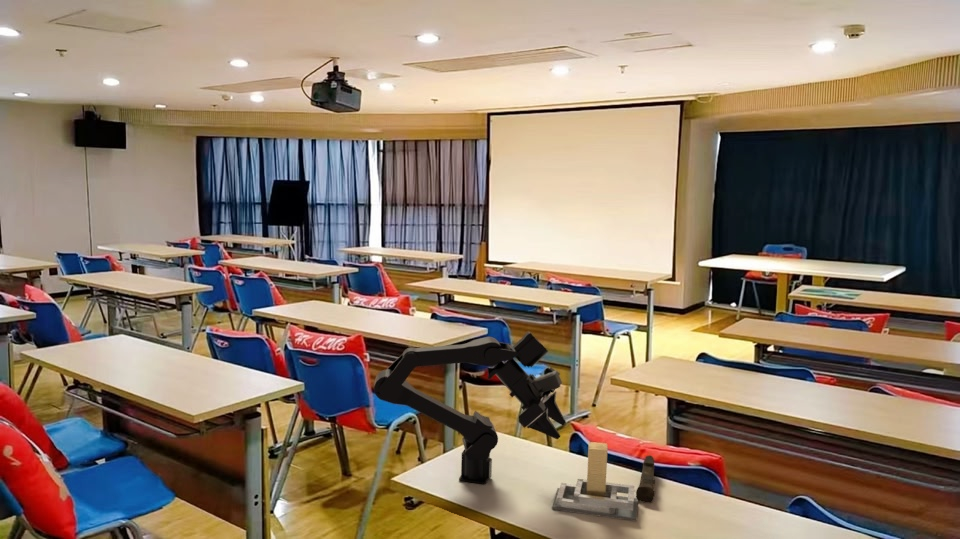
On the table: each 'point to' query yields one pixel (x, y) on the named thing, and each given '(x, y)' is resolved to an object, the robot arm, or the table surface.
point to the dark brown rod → (646, 481)
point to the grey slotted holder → (595, 497)
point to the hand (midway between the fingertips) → (561, 430)
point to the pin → (596, 469)
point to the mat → (618, 513)
